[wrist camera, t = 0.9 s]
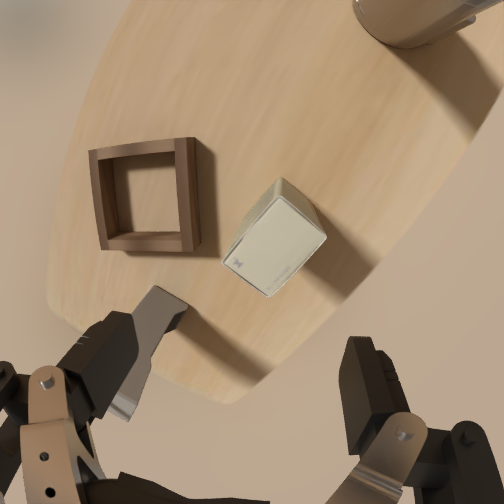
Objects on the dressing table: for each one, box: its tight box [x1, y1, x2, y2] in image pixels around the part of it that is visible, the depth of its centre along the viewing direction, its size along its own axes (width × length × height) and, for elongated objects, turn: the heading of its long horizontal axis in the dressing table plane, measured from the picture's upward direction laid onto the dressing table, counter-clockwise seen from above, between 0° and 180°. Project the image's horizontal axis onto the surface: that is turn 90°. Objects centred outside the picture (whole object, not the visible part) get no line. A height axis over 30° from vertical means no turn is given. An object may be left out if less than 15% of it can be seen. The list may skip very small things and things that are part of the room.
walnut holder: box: [88, 137, 201, 252], centre depth 30 cm, size 11×11×3 cm
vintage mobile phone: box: [88, 285, 189, 425], centre depth 25 cm, size 4×5×25 cm
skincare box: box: [222, 177, 327, 298], centre depth 25 cm, size 6×4×12 cm
